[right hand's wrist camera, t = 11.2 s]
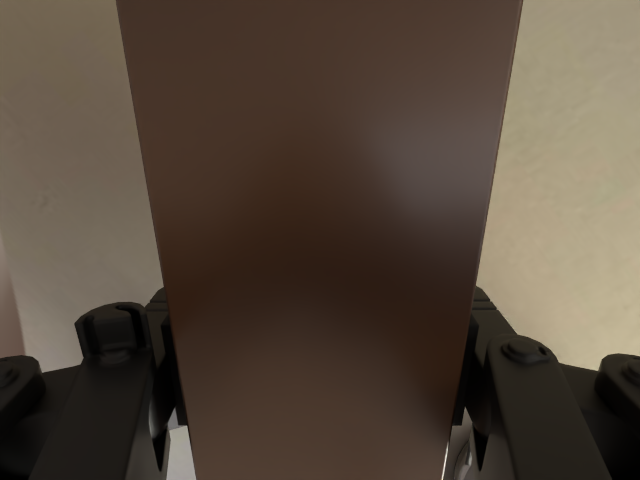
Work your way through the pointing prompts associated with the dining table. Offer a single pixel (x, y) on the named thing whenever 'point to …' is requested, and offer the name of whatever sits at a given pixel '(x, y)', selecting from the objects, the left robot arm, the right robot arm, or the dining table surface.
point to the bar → (319, 220)
